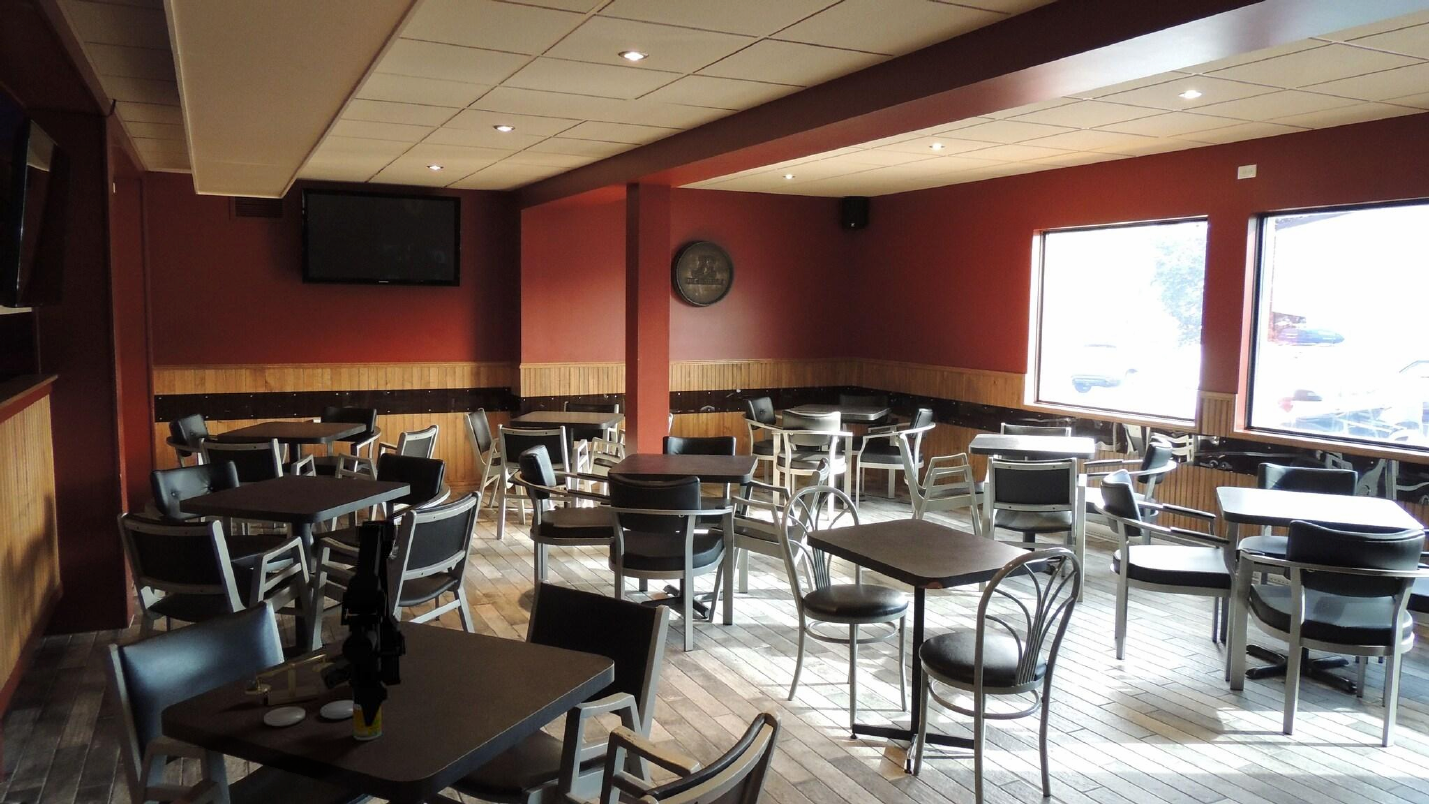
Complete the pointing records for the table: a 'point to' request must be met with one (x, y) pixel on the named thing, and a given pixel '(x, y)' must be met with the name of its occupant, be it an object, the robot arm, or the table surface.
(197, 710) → the table surface
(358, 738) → the supplement bottle
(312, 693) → the balance
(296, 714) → the dish
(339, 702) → the dish
